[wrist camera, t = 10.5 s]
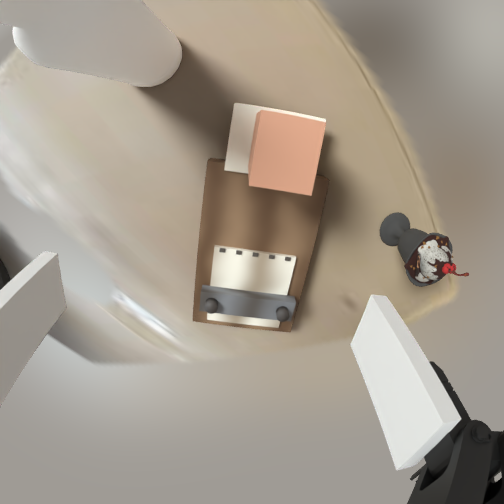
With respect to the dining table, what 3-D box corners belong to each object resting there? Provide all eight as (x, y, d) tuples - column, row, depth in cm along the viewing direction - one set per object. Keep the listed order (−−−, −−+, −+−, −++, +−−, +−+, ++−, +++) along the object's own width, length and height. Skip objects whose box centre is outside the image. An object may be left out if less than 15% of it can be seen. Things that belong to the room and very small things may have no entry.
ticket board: (195, 310, 44) (189, 336, 38) (210, 158, 35) (203, 165, 29) (288, 321, 45) (293, 347, 40) (324, 176, 36) (337, 186, 31)
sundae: (422, 224, 39) (484, 272, 25) (394, 258, 41) (446, 319, 27) (395, 196, 37) (460, 239, 23) (365, 234, 39) (416, 293, 26)
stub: (224, 169, 33) (215, 191, 23) (234, 102, 30) (229, 94, 20) (312, 183, 34) (338, 210, 24) (324, 119, 31) (357, 120, 21)
